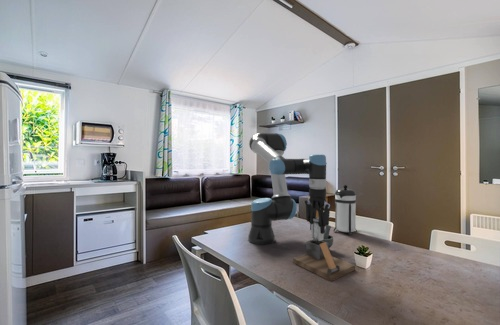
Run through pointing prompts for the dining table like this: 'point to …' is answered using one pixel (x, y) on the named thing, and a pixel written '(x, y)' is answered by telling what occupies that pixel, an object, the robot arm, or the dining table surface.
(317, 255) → the hitch board
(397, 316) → the dining table surface
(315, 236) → the pin
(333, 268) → the strip
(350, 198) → the coffee press
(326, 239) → the mortar and pestle
